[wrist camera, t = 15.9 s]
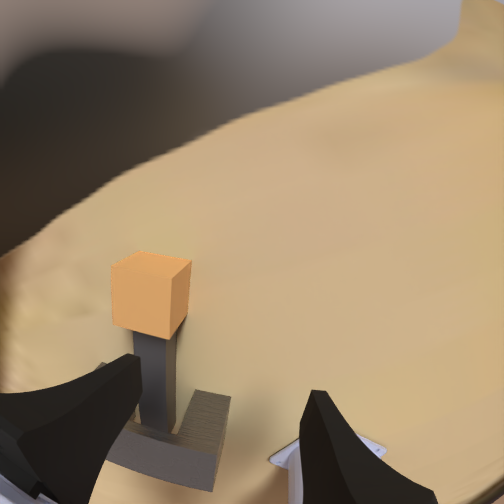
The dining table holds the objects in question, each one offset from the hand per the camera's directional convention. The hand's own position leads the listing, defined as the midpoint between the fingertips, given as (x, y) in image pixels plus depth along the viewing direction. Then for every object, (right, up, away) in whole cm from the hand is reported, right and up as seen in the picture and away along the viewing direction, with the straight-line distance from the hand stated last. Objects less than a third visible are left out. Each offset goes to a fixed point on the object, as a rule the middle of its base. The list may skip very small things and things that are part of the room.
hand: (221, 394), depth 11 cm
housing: (-7, -8, +12) cm, 16 cm away
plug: (-6, -2, +11) cm, 13 cm away
